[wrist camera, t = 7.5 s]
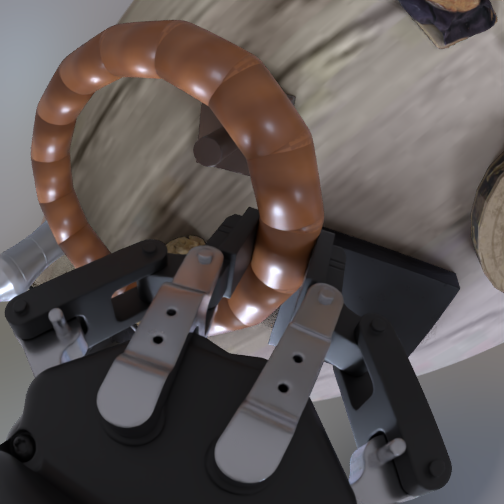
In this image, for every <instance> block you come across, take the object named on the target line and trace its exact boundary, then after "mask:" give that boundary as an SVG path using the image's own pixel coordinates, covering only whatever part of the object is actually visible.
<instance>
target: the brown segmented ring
mask: <svg viewBox="0 0 504 504" xmlns="http://www.w3.org/2000/svg"><path fill="white" fill-rule="evenodd" d="M122 77H141V78H159V79H164V80H165V81H167V82H169V83H171V84H172V85H174V86H176V87H178V88H179V89H181V90H183V91H184V92H186V93H188V94H189V95H191V96H193V97H194V98H196V99H198V100H199V101H201V102H202V103H204V104H206V105H207V106H209V107H210V109H211V110H212V111H213V113H214V114H215V116H216V117H217V118H218V120H219V121H220V122H221V124H222V125H223V127H224V128H225V129H226V131H227V132H228V134H229V135H230V136H231V138H232V139H233V141H234V142H235V144H236V145H237V146H238V148H239V149H240V151H241V152H242V154H243V155H244V156H245V158H246V160H247V165H248V169H249V173H250V177H251V181H252V185H253V189H254V194H255V198H256V202H257V206H258V210H259V215H260V217H259V223H258V229H257V234H256V239H255V244H254V249H253V255H252V260H251V262H250V264H249V265H248V267H247V269H246V271H245V273H244V274H243V276H242V278H241V280H240V282H239V283H238V285H237V287H236V289H235V291H234V292H233V294H232V296H231V298H230V299H229V298H226V297H222V299H221V300H220V302H219V303H218V309H217V312H216V315H215V318H214V320H213V323H212V326H211V329H210V331H209V334H208V336H213V335H218V334H222V333H226V332H230V331H235V330H239V329H243V328H247V327H250V326H254V325H257V324H259V323H261V322H262V321H263V320H265V319H266V318H267V317H268V316H269V315H270V314H271V313H272V312H274V311H275V310H276V309H277V308H278V307H279V306H280V305H282V304H283V303H284V302H285V301H286V300H287V299H288V298H289V297H290V296H292V295H293V294H294V293H295V292H296V291H297V290H298V289H299V288H300V287H301V285H302V282H303V279H304V276H305V273H306V270H307V267H308V264H309V261H310V258H311V255H312V252H313V249H314V246H315V243H316V240H317V237H318V236H319V235H320V232H321V229H322V226H323V222H324V208H323V200H322V193H321V187H320V180H319V173H318V167H317V161H316V155H315V149H314V143H313V138H312V135H311V132H310V131H309V129H308V127H307V125H306V124H305V122H304V121H303V119H302V118H301V116H300V115H299V113H298V112H297V110H296V109H295V107H294V106H293V104H292V103H291V101H290V100H289V98H288V97H287V96H286V94H285V93H284V91H283V90H282V88H281V87H280V86H279V84H278V83H277V81H276V80H275V79H274V77H273V76H272V74H271V73H270V72H269V70H268V69H267V68H266V66H265V65H264V64H263V63H262V61H261V60H260V59H259V58H257V57H256V56H254V55H253V54H251V53H249V52H248V51H246V50H244V49H242V48H240V47H239V46H237V45H235V44H233V43H231V42H229V41H227V40H225V39H224V38H222V37H220V36H218V35H216V34H214V33H212V32H210V31H208V30H206V29H203V28H201V27H199V26H197V25H195V24H193V23H190V22H187V21H182V20H163V21H145V22H133V23H123V24H117V25H114V26H111V27H109V28H107V29H106V30H104V31H103V32H101V33H100V34H98V35H96V36H95V37H93V38H92V39H90V40H89V41H88V42H86V43H85V44H83V45H82V46H80V47H79V48H77V49H76V50H75V51H73V52H72V53H71V54H69V55H68V56H67V57H66V58H65V59H64V60H63V61H62V62H61V64H60V65H59V67H58V69H57V70H56V72H55V74H54V75H53V77H52V79H51V81H50V83H49V84H48V86H47V88H46V90H45V92H44V94H43V95H42V97H41V99H40V101H39V103H38V106H37V110H36V116H35V123H34V129H33V137H32V146H31V161H32V168H33V175H34V180H35V186H36V191H37V197H38V201H39V204H40V206H41V209H42V211H43V213H44V216H45V218H46V220H47V222H48V225H49V227H50V229H51V231H52V233H53V235H54V237H55V240H56V242H57V243H58V245H59V247H60V248H61V249H62V251H63V252H64V253H65V255H66V256H67V257H68V259H69V260H70V261H71V262H72V264H73V265H74V266H75V268H79V267H81V266H83V265H86V264H88V263H90V262H93V261H95V260H97V259H100V258H102V257H104V256H107V255H109V254H111V252H110V251H109V250H108V249H107V247H106V246H105V245H104V243H103V242H102V241H101V239H100V238H99V237H98V236H97V234H96V233H95V232H94V230H93V229H92V227H91V226H90V225H89V223H88V222H87V219H86V217H85V215H84V212H83V210H82V207H81V205H80V203H79V200H78V198H77V195H76V193H75V190H74V187H73V180H72V171H71V162H70V146H71V141H72V136H73V132H74V128H75V123H76V119H77V117H78V115H79V114H80V112H81V111H82V109H83V108H84V106H85V105H86V103H87V102H88V101H89V99H90V98H91V96H92V95H93V94H94V92H95V91H97V90H99V89H100V88H102V87H104V86H106V85H108V84H110V83H112V82H114V81H116V80H118V79H120V78H122ZM136 286H137V282H134V283H131V284H129V285H127V286H125V287H123V288H121V289H119V290H117V291H115V292H114V294H113V295H112V298H113V297H115V296H117V295H119V294H121V293H124V292H126V291H128V290H130V289H132V288H134V287H136Z"/></svg>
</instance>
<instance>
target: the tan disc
mask: <svg viewBox="0 0 504 504" xmlns="http://www.w3.org/2000/svg"><path fill="white" fill-rule="evenodd" d="M471 238H472V241H473V245H474V248H475V251H476V254H477V257H478V259H479V262H480V264H481V267H482V269H483V271H484V274H485V275H486V276H487V278H488V279H489V280H490V282H491V283H492V285H493V286H494V287H495V288H496V289H498V290H500V291H501V292H503V293H504V152H503V153H502V154H501V155H500V156H499V157H498V158H497V159H496V160H495V161H494V163H493V164H492V165H491V166H490V167H489V168H488V170H487V172H486V174H485V176H484V178H483V179H482V181H481V183H480V185H479V187H478V189H477V191H476V196H475V200H474V204H473V207H472V211H471Z"/></svg>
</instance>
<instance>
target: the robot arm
mask: <svg viewBox="0 0 504 504" xmlns="http://www.w3.org/2000/svg"><path fill="white" fill-rule="evenodd" d="M259 217H260V215H259V210H258V209H254V208H251V207H249V208H248V209H247V210H246V212H245V213H244V214H243V216H240V215H237V214H234V215H232V216H230V217H228V218H226V219H225V220H224V222H223V223H222V224H221V225H220V227H219V228H218V229H217V230H216V231H215V233H214V234H213V235H212V236H211V238H210V239H209V240H208V241H207V243H206V244H205V245H200V246H196V247H193V248H192V249H190V250H189V252H188V253H187V254H173V253H168V249H167V246H166V245H165V244H164V243H163V242H161V241H158V240H153V239H149V240H144V241H141V242H138V243H136V244H133V245H131V246H128V247H126V248H123V249H121V250H119V251H116V252H114V253H111V254H109V255H107V256H104V257H102V258H100V259H97V260H95V261H93V262H90V263H88V264H86V265H83V266H81V267H79V268H76V269H74V270H72V271H70V272H67V273H65V274H63V275H61V276H58V277H56V278H54V279H52V280H50V281H47V282H45V283H43V284H41V285H39V286H37V287H34V288H33V287H32V286H30V287H29V289H30V290H28V291H26V292H24V293H22V294H20V295H17V296H16V297H14V298H13V299H11V300H10V301H9V303H8V304H7V306H6V308H5V317H6V319H7V321H8V322H9V324H10V326H11V328H12V329H13V332H14V334H15V336H16V338H17V340H18V341H19V343H20V344H21V346H22V347H23V349H24V351H25V354H26V357H27V359H28V362H29V364H30V367H31V369H32V372H33V374H34V377H35V379H34V380H33V381H32V383H31V384H30V386H29V388H28V391H27V394H26V399H25V406H24V411H23V414H22V415H21V417H20V418H19V419H18V420H17V422H16V423H15V424H14V425H13V427H12V428H11V430H10V432H9V433H8V436H7V439H6V441H5V442H4V443H2V444H1V445H0V504H398V503H401V502H404V501H407V500H410V499H413V498H416V497H419V496H422V495H425V494H427V493H430V492H432V491H435V490H437V489H440V488H442V487H443V486H444V485H445V484H446V483H447V482H448V481H449V478H450V476H451V472H452V466H451V461H450V458H449V456H448V453H447V450H446V447H445V445H444V442H443V439H442V437H441V434H440V432H439V429H438V426H437V424H436V421H435V419H434V416H433V414H432V412H431V409H430V407H429V404H428V402H427V399H426V397H425V395H424V393H423V390H422V388H421V386H420V383H419V381H418V379H417V377H416V374H415V372H414V370H413V368H412V366H411V363H410V361H409V359H408V357H407V355H406V353H405V351H404V349H403V347H402V344H401V342H400V340H399V338H398V336H397V334H396V332H395V330H394V328H393V326H392V324H391V323H390V322H389V321H388V320H387V319H386V318H385V317H383V316H382V315H379V314H376V313H367V314H365V315H363V316H362V317H361V316H359V315H357V314H356V313H354V312H353V311H351V310H350V309H349V308H348V307H347V306H346V305H345V303H344V298H343V295H342V287H343V280H344V273H345V264H346V257H347V256H346V254H345V251H344V249H343V248H342V247H339V246H336V245H333V242H334V237H335V233H331V232H328V231H325V230H322V229H321V232H320V235H319V236H318V237H317V240H316V243H315V246H314V249H313V252H312V255H311V258H310V261H309V264H308V267H307V270H306V273H305V276H304V279H303V282H302V286H301V289H300V292H299V295H298V298H297V302H296V305H295V308H294V311H293V314H292V317H291V320H292V322H291V321H290V322H289V324H288V326H287V327H286V329H285V331H284V333H283V335H282V337H281V338H280V340H279V342H278V344H277V345H276V347H275V349H274V351H273V353H272V354H271V356H270V358H269V360H266V359H264V358H260V357H252V356H245V355H237V354H231V353H228V352H226V351H225V350H223V349H222V348H220V347H219V346H217V345H216V344H214V343H213V342H211V341H210V340H208V339H207V337H208V334H209V331H210V329H211V326H212V323H213V320H214V318H215V315H216V312H217V309H218V303H219V302H220V300H221V299H222V297H226V298H229V299H230V298H231V296H232V294H233V292H234V291H235V289H236V287H237V285H238V283H239V282H240V280H241V278H242V276H243V274H244V273H245V271H246V269H247V267H248V265H249V264H250V262H251V260H252V255H253V249H254V244H255V239H256V234H257V229H258V223H259ZM134 282H137V286H136V287H134V288H132V289H130V290H128V291H126V292H124V293H121V294H119V295H117V296H115V297H113V298H112V295H113V294H114V292H115V291H117V290H119V289H121V288H123V287H125V286H127V285H129V284H131V283H134ZM140 321H141V322H140ZM138 322H140V324H139V326H138V327H136V325H135V324H136V323H138ZM324 360H327V361H328V362H330V363H331V364H333V370H334V374H335V377H336V380H337V383H338V386H339V389H340V392H341V396H342V399H343V401H344V405H345V408H346V412H347V415H348V418H349V421H350V424H351V428H352V431H353V434H354V438H355V441H356V445H357V448H358V449H357V450H356V451H355V452H354V453H353V455H352V456H351V459H350V477H349V480H348V479H347V476H346V474H345V472H344V470H343V468H342V466H341V464H340V461H339V459H338V457H337V455H336V453H335V451H334V448H333V446H332V444H331V442H330V440H329V438H328V436H327V434H326V431H325V429H324V427H323V425H322V423H321V421H320V418H319V416H318V414H317V412H316V410H315V407H314V405H313V403H312V401H311V399H310V397H309V396H310V394H311V391H312V389H313V387H314V384H315V382H316V380H317V377H318V375H319V372H320V370H321V367H322V365H323V362H324Z"/></svg>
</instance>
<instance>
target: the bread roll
mask: <svg viewBox="0 0 504 504" xmlns="http://www.w3.org/2000/svg"><path fill="white" fill-rule="evenodd" d="M397 1H398V2H399V3H400V4H401V5H402V7H403V8H404V9H405V10H406V11H407V12H408V13H409V14H410V15H411V16H412V20H413V21H416V22H417V23H418V24H419V25H420V27H421V29H423V30H424V32H425V33H426V34H427V36H428V37H429V38H430V40H432V41H433V43H434V44H435V45H436V46H437V47H438V48H439V49H445V48H449V47H450V46H451V45H453V44H454V45H455V44H456V43H457V42H459V41H462V40H465V39H468V37H471V36H473V35H476V34H478V33H481V32H484V31H486V30H488V29H490V28H491V27H492V26H494V24H495V23H496V22H497V16H496V14H495V12H494V11H493V8H492V5H491V2H490V0H397Z"/></svg>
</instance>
